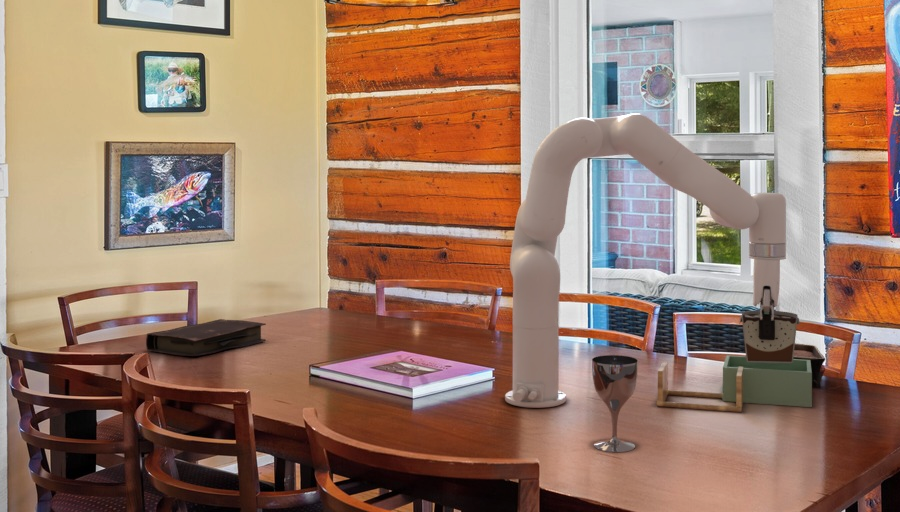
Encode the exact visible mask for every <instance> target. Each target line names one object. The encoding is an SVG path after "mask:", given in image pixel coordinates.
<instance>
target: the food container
mask: <svg viewBox="0 0 900 512" xmlns="http://www.w3.org/2000/svg"><path fill="white" fill-rule="evenodd" d="M759 320H760V309H759V310H746V311H743V312H742V313H741V315H740V318H739V321H738V324H741V323H742V332H743V341H744V350H745V356H746V361H747V362H761V363H793V357H794V347H795V343H796V335H797V327H798V325H799V326H800V325H801V323H800V318H799V317H798V314H797V313H794V312H789V311H781V310H774V320H775V340H761V339H759Z"/></svg>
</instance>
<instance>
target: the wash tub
mask: <svg viewBox="0 0 900 512" xmlns="http://www.w3.org/2000/svg"><path fill="white" fill-rule="evenodd" d="M739 367H744V368H743V404H745V403H746V404H757V405H758V404H759V405H773V406H784V407H785V406H786V407H787V406H788V407H800V408H801V407H803V408H813V384H812V370H811V361H810V360H801V359H793V363H761V362H747V361H746V355H729V354H726V356H725V359H724V362H723V366H722V394H723V398H722V402H731V403H736V376H737V372H738V368H739Z"/></svg>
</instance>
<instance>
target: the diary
mask: <svg viewBox="0 0 900 512" xmlns="http://www.w3.org/2000/svg"><path fill="white" fill-rule="evenodd" d="M266 325H267V323H265V322H258V321H257V322H256V321H251V320H241V319H223V318H220V319H214V320H211V321H207V322H202V323H196V324H189V325H184V326H178V327H176V328H171V329H166V330H160V331H153V332H148V333H147V334H146V337H145V347H146V351H147V352H154V353H162V354H167V355H168V354H169V355H174V356H183V357H197V356H203V355H209V354H214V353H215V354H216V353H219V352H222V351H225V350H228V349H234V348H243V347H249V346H252V345H256V344H260V343H262V342H266V341H267V339H265V338H262V326H263V327H264V326H266Z"/></svg>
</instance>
